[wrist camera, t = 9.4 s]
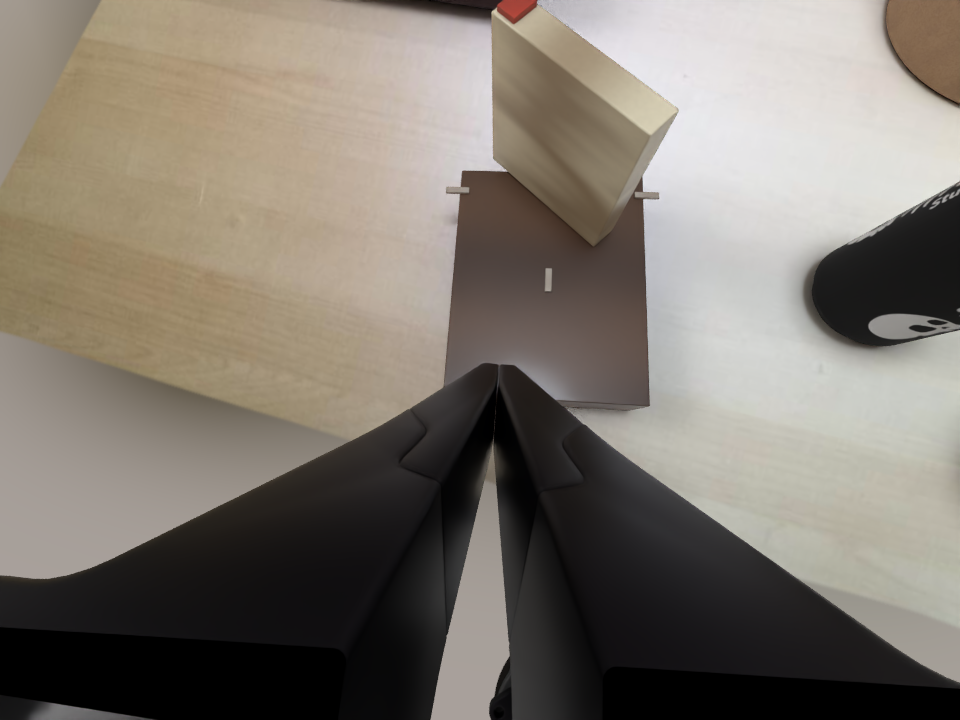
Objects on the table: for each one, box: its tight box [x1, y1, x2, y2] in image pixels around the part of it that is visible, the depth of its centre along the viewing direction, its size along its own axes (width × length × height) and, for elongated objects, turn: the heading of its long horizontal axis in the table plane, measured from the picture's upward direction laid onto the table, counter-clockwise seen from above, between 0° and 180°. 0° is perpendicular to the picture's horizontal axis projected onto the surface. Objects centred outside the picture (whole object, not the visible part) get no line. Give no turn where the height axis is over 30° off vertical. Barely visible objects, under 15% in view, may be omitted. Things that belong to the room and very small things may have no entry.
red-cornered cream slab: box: [491, 0, 679, 247], centre depth 18 cm, size 8×2×8 cm, turn 43°
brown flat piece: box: [444, 171, 659, 410], centre depth 23 cm, size 19×13×3 cm
